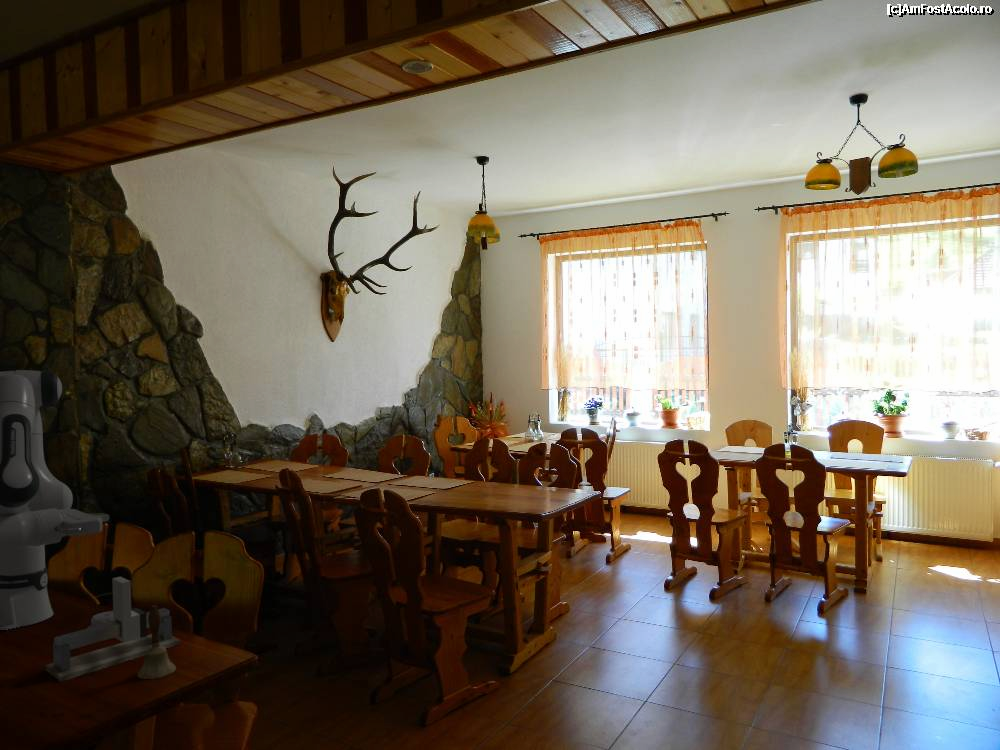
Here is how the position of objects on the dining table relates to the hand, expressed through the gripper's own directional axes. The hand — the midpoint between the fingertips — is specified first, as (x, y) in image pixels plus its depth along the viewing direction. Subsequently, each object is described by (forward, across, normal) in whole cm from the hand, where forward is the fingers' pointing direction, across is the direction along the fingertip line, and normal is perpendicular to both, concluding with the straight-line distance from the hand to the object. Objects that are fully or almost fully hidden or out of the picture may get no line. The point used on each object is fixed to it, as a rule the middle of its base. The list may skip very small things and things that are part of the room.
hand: (107, 516), depth 196 cm
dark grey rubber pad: (+1, -17, +28) cm, 33 cm away
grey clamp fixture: (-5, -17, +31) cm, 36 cm away
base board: (-5, -17, +32) cm, 37 cm away
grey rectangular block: (-2, -17, +28) cm, 33 cm away
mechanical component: (+1, +4, +32) cm, 33 cm away
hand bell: (-2, -34, +32) cm, 47 cm away
